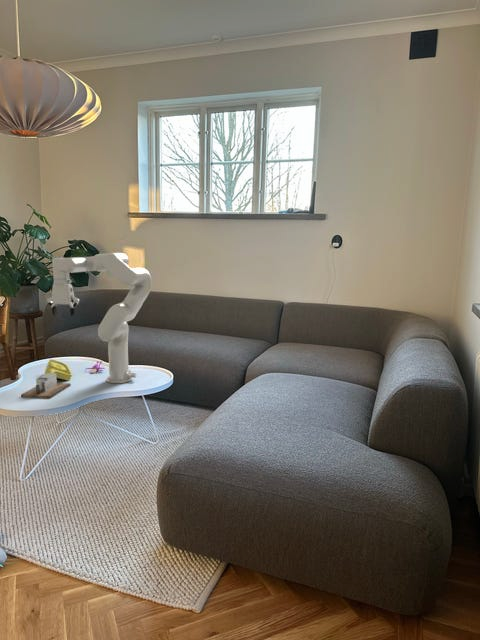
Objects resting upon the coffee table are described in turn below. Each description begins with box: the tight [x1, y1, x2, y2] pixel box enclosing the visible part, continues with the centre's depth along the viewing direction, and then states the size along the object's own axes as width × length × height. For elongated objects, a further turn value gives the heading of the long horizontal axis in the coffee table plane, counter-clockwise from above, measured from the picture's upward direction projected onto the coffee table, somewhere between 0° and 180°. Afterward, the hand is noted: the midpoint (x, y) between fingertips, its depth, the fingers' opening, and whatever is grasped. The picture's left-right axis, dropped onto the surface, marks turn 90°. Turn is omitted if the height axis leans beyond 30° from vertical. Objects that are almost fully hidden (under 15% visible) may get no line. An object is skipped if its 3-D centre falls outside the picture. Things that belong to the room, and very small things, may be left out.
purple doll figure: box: [84, 360, 106, 375], centre depth 233 cm, size 11×3×12 cm
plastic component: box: [43, 358, 73, 381], centre depth 222 cm, size 20×8×10 cm
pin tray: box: [20, 382, 71, 399], centre depth 199 cm, size 14×18×5 cm
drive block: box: [35, 373, 58, 392], centre depth 200 cm, size 4×10×6 cm, turn 173°
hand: (64, 315), depth 219 cm, fingers open, 9 cm apart
